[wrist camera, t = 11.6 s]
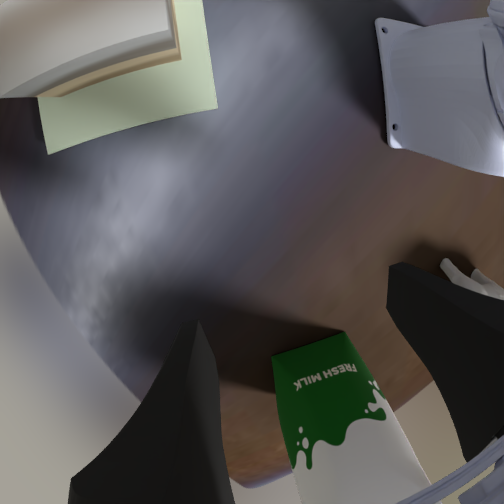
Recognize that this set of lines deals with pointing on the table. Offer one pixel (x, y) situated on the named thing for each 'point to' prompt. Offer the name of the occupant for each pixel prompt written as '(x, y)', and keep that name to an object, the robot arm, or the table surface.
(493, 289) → the dog figurine
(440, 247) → the table surface
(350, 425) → the milk carton
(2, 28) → the cream layered block
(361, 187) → the table surface
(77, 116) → the stand
